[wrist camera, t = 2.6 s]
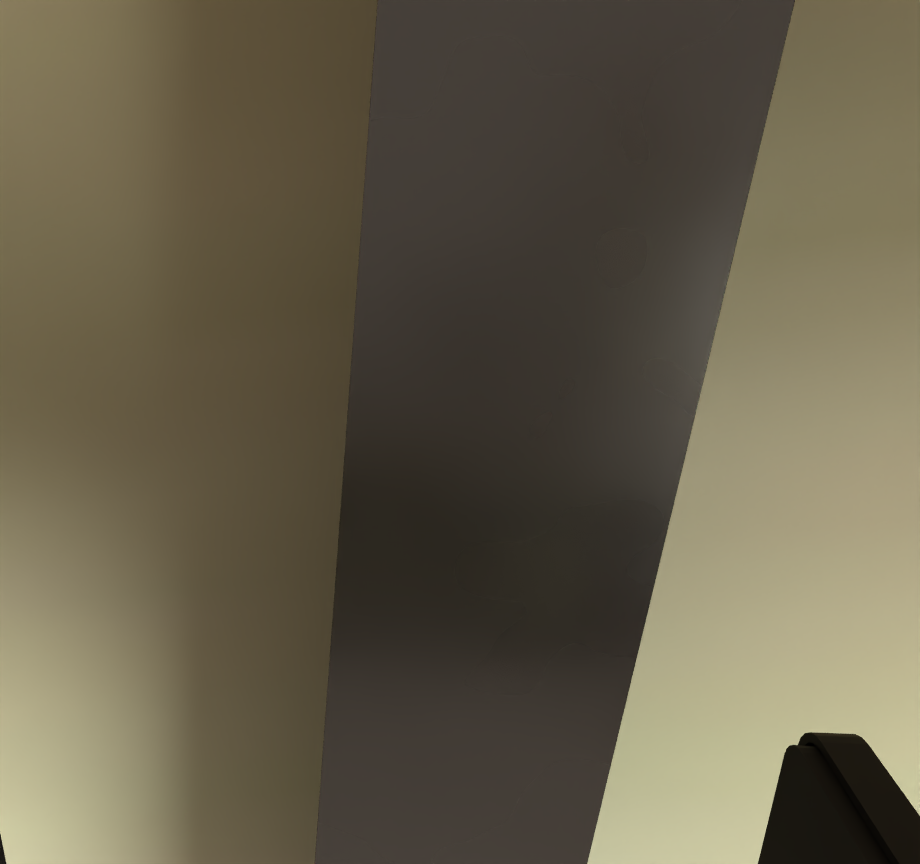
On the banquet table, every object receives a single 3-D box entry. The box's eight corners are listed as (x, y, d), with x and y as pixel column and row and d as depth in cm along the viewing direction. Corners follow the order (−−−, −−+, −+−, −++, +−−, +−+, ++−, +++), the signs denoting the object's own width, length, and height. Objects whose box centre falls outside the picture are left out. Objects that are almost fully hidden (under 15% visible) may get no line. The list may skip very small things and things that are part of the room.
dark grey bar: (734, -374, 8) (1047, -1047, 4) (460, 1081, 17) (452, 1424, 13) (474, -411, 8) (461, -1133, 4) (332, 1067, 17) (274, 1404, 13)
